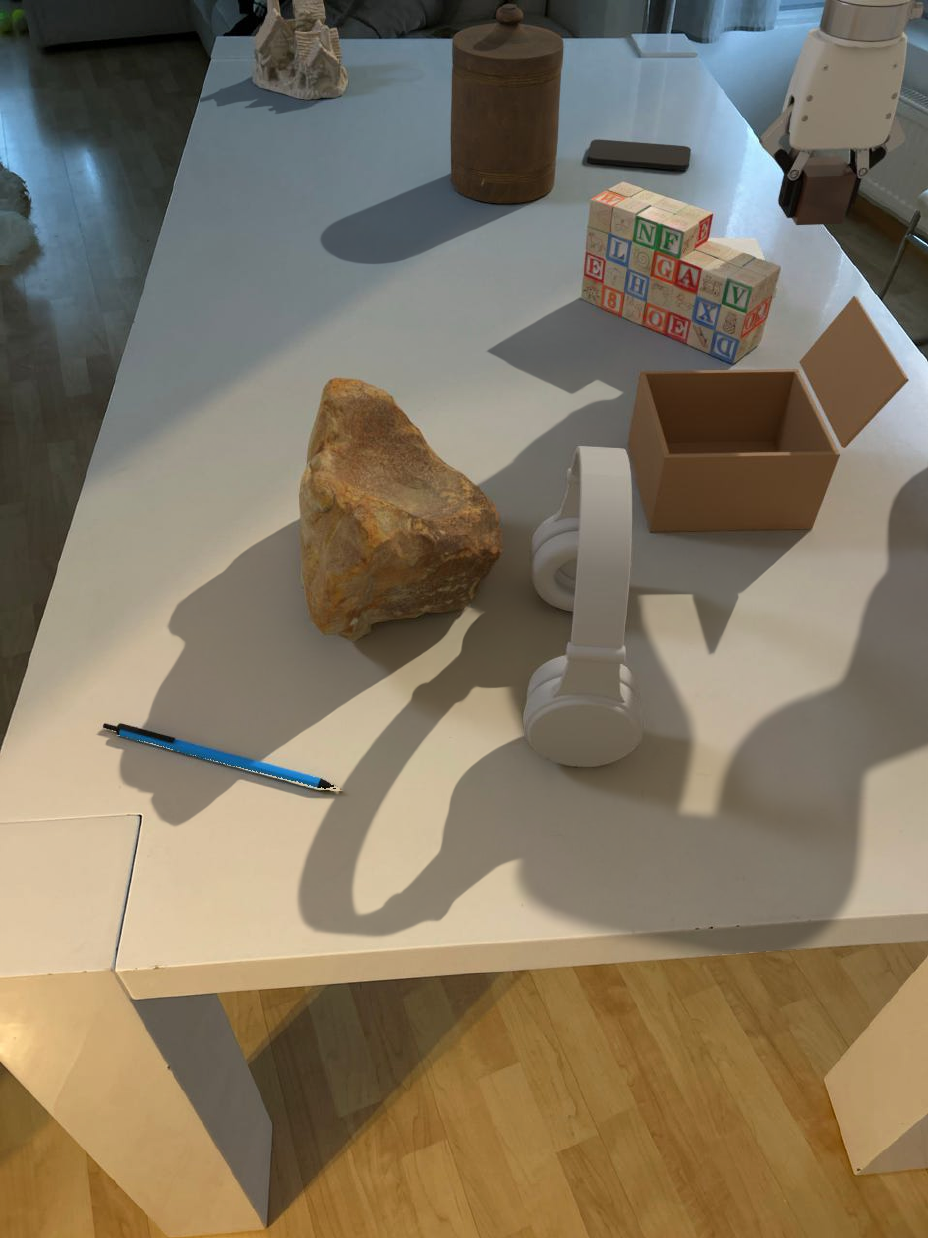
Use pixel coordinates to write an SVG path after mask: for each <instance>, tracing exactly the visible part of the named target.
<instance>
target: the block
mask: <svg viewBox="0 0 928 1238" xmlns="http://www.w3.org/2000/svg"><path fill="white" fill-rule="evenodd" d="M848 164H849V163H848V162H846V160H845V159H844V157H843V156H842V155H841V156H839V155H838V156H810V157H809V159H808V160H807V162H806V164H805V166H804V168H803V170H802V172H801V176H800V178H801V179H802V181H803V184H802V188H801V193H800V197H799V201H798V205H797V209H796V213H795V216H794V217H793V218H791V219H792V221H793V223H794V224H795V226H816V225H818V226H819V225H843V224H844V222H845V218H846V216H845V215H846V211H847V208H848V204H849V200H850V197H851V193H852V190H853V186H854V183H855V179H856V175H855V173H854V172H853V171H852V169H851V168H850V167H849V166H848Z"/></svg>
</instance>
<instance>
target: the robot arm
mask: <svg viewBox="0 0 928 1238" xmlns="http://www.w3.org/2000/svg"><path fill="white" fill-rule="evenodd" d="M924 7H925V6H924V3H923V2H922V1H919V2H917V1H916V0H825V1H824V4H823V9H822V14H821V18H820V23H819V27H818V28H812V29H810V30H809V31H808V33H807V36H806V38H805V40H804V43H803V45H802V48H801V50H800V52H799V56H798V57H797V58H798V59H797V60H796V64H795V67H794V69H793V72H792V75H791V79H790V82H789V85H788V89H787V92H786V96H785V99H784V103H783V106H782V110H781V114H780V115H779V116H777V118H776V120H775V121H773V122H772V123H771V124H770V126H769V127H768V128H767V129H765V131H764V132H762V134H761V135H760V137H759V138H758V143H759V145H760V146H761V148H762V149H763V150H764V151H765V152H766V153H767V154H768V155H769V156H770V157H771V158H773V160H775V162H776V163H777V164H778V166H779V167H780V169H781V170H782V172H783V176H782V180H781V185H780V189H779V194H778V199H777V204H778V206H779V207H780V209H781V210H782V212H783V213H784V215H785V217H786V219H792V218H793V217H794V216H795V213H796V209H797V205H798V201H799V197H800V193H801V188H802V184H803V181H802V179H801V178H800V176H801V172H802V170H803V168H804V166H805V164H806V162H807V160H808V159H809V157H811V155H812V153H813V151H845V150H846V151H847V150H848V163H847V164H848V166H849V167H850V168H851V169H852V171H853V172H854V173H855V175H856V179H855V183H854V186H853V190H852V193H851V197H850V200H849V204H848V208H847V211H846V215H845V217H848V216H849V213H850V210H851V206H852V205H854V204H855V203H856V199H857V197H858V193H859V189H860V187H861V184H862V183H861V182H862V179H865V178H866V177H867V176H868V175H869V172H870V170H872V169H873V167H875V166H876V165H877V164H879V163H880V162H881V161H882V160H884V158H885V157H886V155H888V154H890V153H892V152H893V151H894V150H896V149H897V148H899V147H900V146H902V145H903V144H904V143H905V142H906V140H907V135H906V134H905V131H904V130H903V127H902V126H901V122H900V121H899V119H898V117H897V114H896V111H897V108H898V103H899V98H900V93H901V88H902V84H903V78H904V72H905V66H906V65H905V64H906V57H907V47H908V35H907V34H905V31H906V29H907V26H908V23H909V22H911V21H913V20H919V19H921V17H922V16H923V13H924ZM783 136H786V137H787V136H788V137H789V139H788V140H789V141H788V142H789V143H788V144H789V148H788V150H787V151H786V149H785V148H784V147H783V146H782V145H781V143H780V140H781V139H782V138H783Z"/></svg>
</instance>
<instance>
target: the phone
mask: <svg viewBox="0 0 928 1238" xmlns="http://www.w3.org/2000/svg"><path fill="white" fill-rule="evenodd" d="M691 151H692V149H691V148H690V146H686V145H677V144H663V143H650V142H637V141H626V140H625V141H623V140H611V139H599V138H598V139H593V140H591V142H590V144H589V148H588V151H587V154H586V155H587V157H586V161H587V162H588V163H591V164H600V165H610V166H612V165H613V166H624V167H637V168H648V169H659V170H660V169H661V170H674V171H685V170H688V169H689V168H690V161H691Z"/></svg>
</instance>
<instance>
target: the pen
mask: <svg viewBox="0 0 928 1238" xmlns="http://www.w3.org/2000/svg"><path fill="white" fill-rule="evenodd" d="M102 728H103V729H105V728H106V729H105V730H108V729H109V730H108V731H112V730H113V731H112V732H115V731H116V732H115V735H116V736H117V735H120V736H119V737H121V736H123V737H122V738H124V737H128V738H132V739H135V740H138V741H137V742H139V740H140V741H143V742H144V741H145V742H148V743H153V744H156V745H159V746H162V747H163V746H164V747H165V748H166V747H167V748H170V749H173V750H174V751H173V752H175V751H179V752H182V753H181V754H183V753H186V754H189V755H188V756H190V754H191V755H194V756H195V755H196V756H197V757H200V758H199V759H201V758H204V759H205V758H206V759H209V760H210V759H211V760H212V761H213V760H214V761H218V762H219V763H220V762H221V763H222V764H221V765H223V763H225V764H226V765H227V764H228V765H231V766H235V767H236V766H237V767H241V768H244V769H248V770H251V771H252V770H253V771H255V772H256V771H257V772H258V773H260V772H261V773H264V774H268V775H272V776H276V777H277V778H278V777H279V778H281V777H282V778H283V779H287V780H291V781H295V782H296V781H298V782H299V783H301V782H302V783H303V784H307V785H308V786H309V785H311V786H313V787H317V788H321V787H322V788H324V789H326V788H330V787H334V785H335V784H333V785H331V784H330V783H331V782H330V781H328V780H326V779H324V778H322V777H318V776H315V777H313V776H314V775H311V774H307V773H304V774H303V772H301V771H300V772H299V771H296V770H292V769H289V768H285V767H281V766H278V765H275V764H270V763H267V762H264V761H259V760H255V759H253V758H248V757H246V756H241V755H237V754H233V753H229V752H227V751H223V750H218V749H215V748H212V747H208V746H204V745H200V744H197V743H194V742H189V741H186V740H182V739H177V738H176V737H174V736H170V735H167V734H163V733H159V732H155V731H152V730H148V729H144V728H141V727H137V726H133V725H129V724H125V723H121V722H119V723H118V724H117V725H114V724H109V723H103V725H102ZM128 738H127V739H128ZM135 740H134V741H135ZM179 752H178V753H179ZM186 754H185V755H186ZM194 756H193V757H194ZM197 757H196V758H197ZM204 759H203V760H204ZM212 761H211V762H212ZM219 763H218V764H219ZM226 765H225V766H226ZM310 775H311V776H310ZM323 779H324V780H323ZM327 781H328V782H327ZM329 782H330V783H329ZM333 789H336V788H333Z"/></svg>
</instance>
